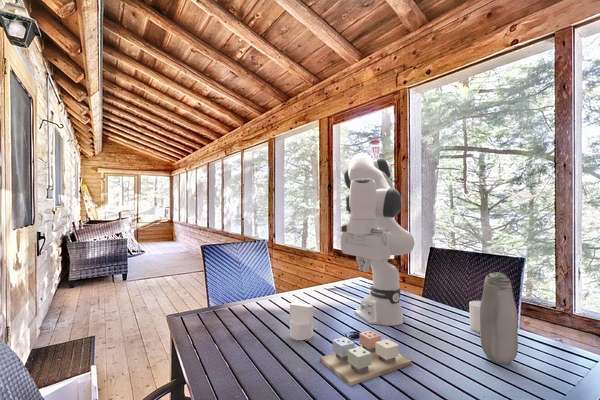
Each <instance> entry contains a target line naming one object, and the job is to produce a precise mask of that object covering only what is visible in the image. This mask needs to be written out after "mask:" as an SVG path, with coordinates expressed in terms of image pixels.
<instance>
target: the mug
mask: <svg viewBox="0 0 600 400" xmlns="http://www.w3.org/2000/svg"><path fill="white" fill-rule="evenodd" d="M480 304H481V300H472V301H469V303H468V306H469V307H468V308H469V327H470V330H472V331H473V332H476V333H478V334H479V333H480Z"/></svg>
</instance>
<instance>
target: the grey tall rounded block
mask: <svg viewBox="0 0 600 400" xmlns="http://www.w3.org/2000/svg"><path fill="white" fill-rule="evenodd" d="M480 301H481V304H480V344H481V345H480V346H481V349H482V352H483V353H484V355H485V356H486V357H487V358H488V360H490V361H492V362H494V363H497V364H501V365H506V364H510V363H511V362H513V361H514V360H515V359H516V357H517V354H518V348H519V345H518V344H519V343H518V342H519V340H518V339H519V338H518V335H519V334H518V333H519V331H518V328H519V323H518V321H519V319H518V318H519V316H518V311H517V309H518V308H517V305H516V302H515V298H514V294H513V287H512V280H510V277H508V275H506V274H504V273H503V272H496V271H494V272H490V273H488V274H487V275H486V276H485V278H484V281H483V292H482V296H481V299H480Z"/></svg>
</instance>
